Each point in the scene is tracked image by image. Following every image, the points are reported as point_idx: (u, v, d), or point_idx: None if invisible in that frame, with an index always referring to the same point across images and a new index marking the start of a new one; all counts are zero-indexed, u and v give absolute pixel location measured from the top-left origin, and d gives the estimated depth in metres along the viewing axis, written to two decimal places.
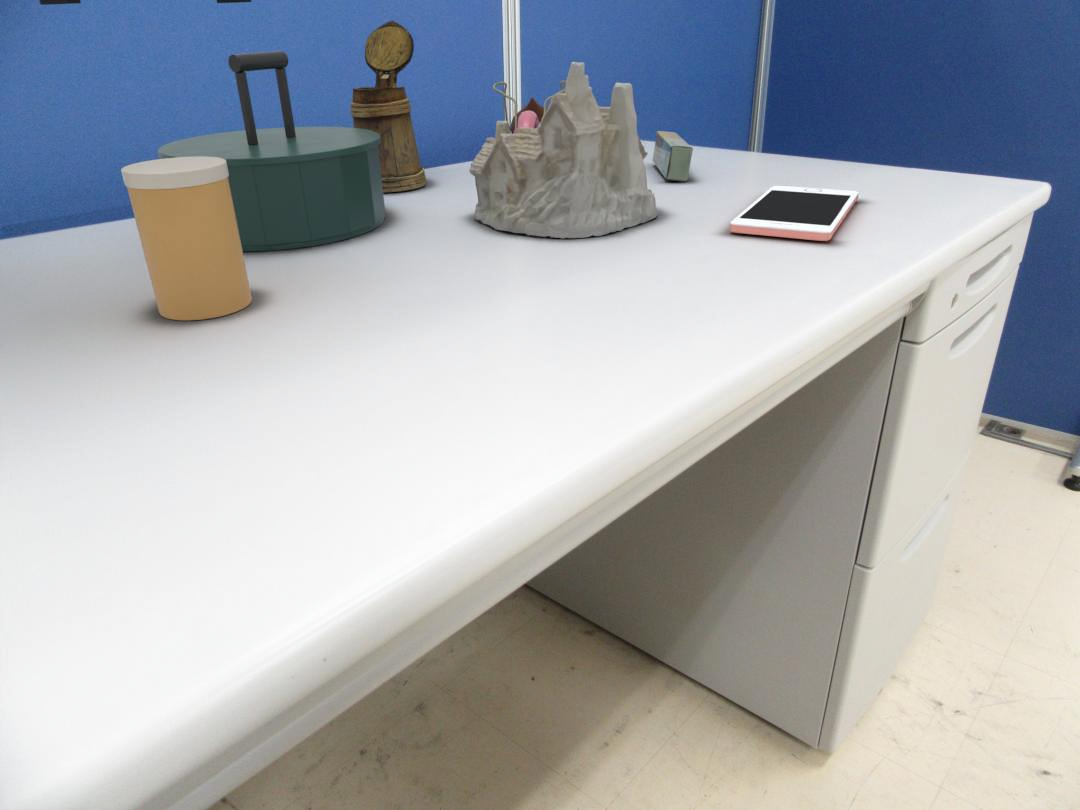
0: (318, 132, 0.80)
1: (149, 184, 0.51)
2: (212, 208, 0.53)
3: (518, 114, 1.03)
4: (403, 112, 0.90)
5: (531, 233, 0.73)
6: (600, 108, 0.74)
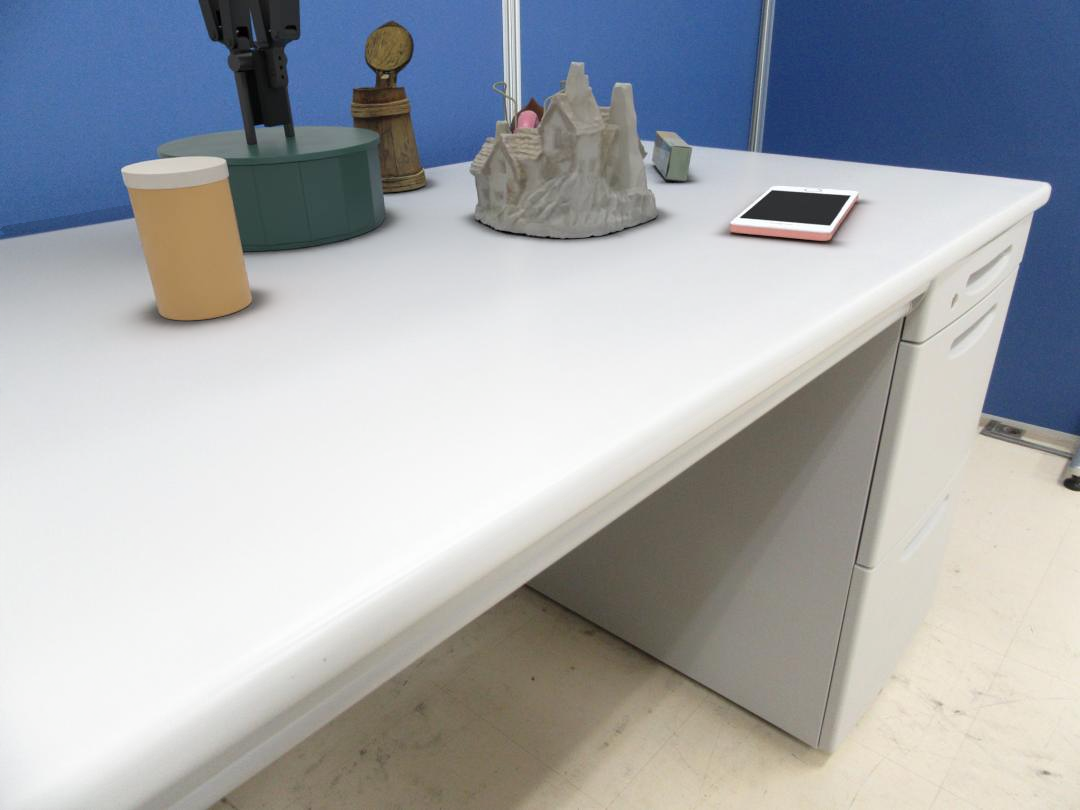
0: (317, 131, 0.80)
1: (149, 184, 0.51)
2: (212, 208, 0.53)
3: (518, 114, 1.03)
4: (403, 112, 0.90)
5: (531, 233, 0.73)
6: (600, 108, 0.74)
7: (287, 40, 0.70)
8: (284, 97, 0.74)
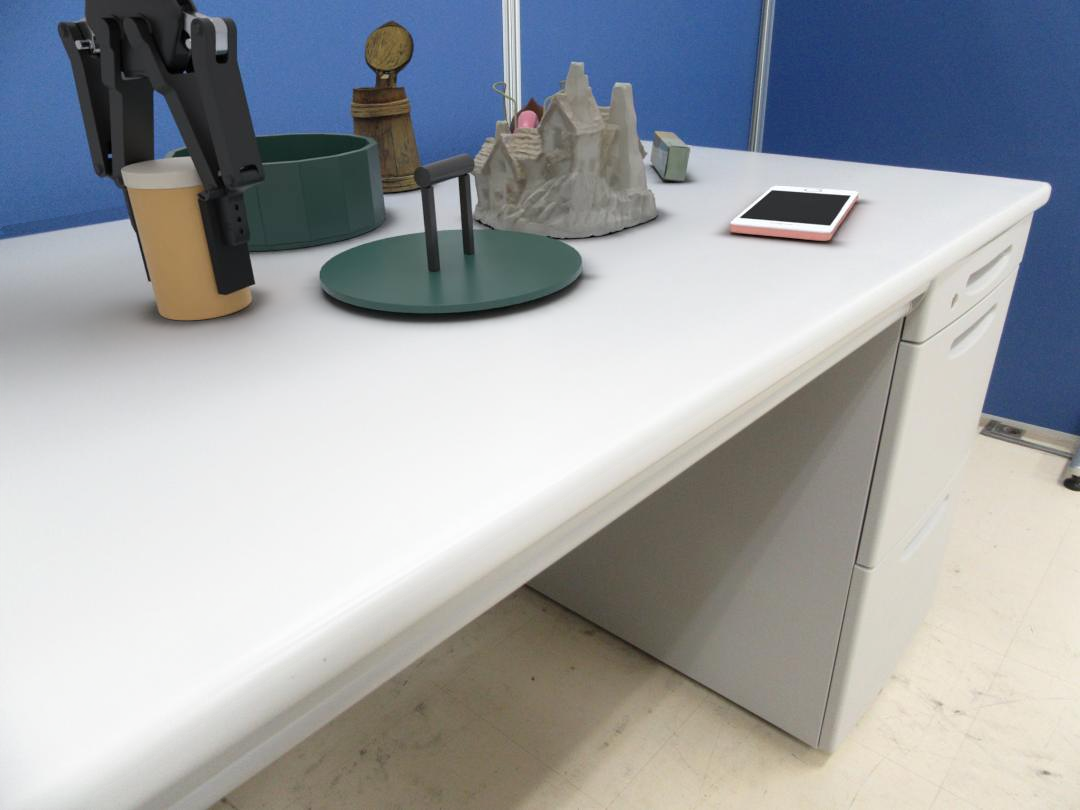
0: (495, 243, 0.66)
1: (149, 184, 0.51)
2: None
3: (518, 114, 1.03)
4: (403, 112, 0.90)
5: (531, 233, 0.73)
6: (600, 108, 0.74)
7: (246, 186, 0.51)
8: (246, 252, 0.55)
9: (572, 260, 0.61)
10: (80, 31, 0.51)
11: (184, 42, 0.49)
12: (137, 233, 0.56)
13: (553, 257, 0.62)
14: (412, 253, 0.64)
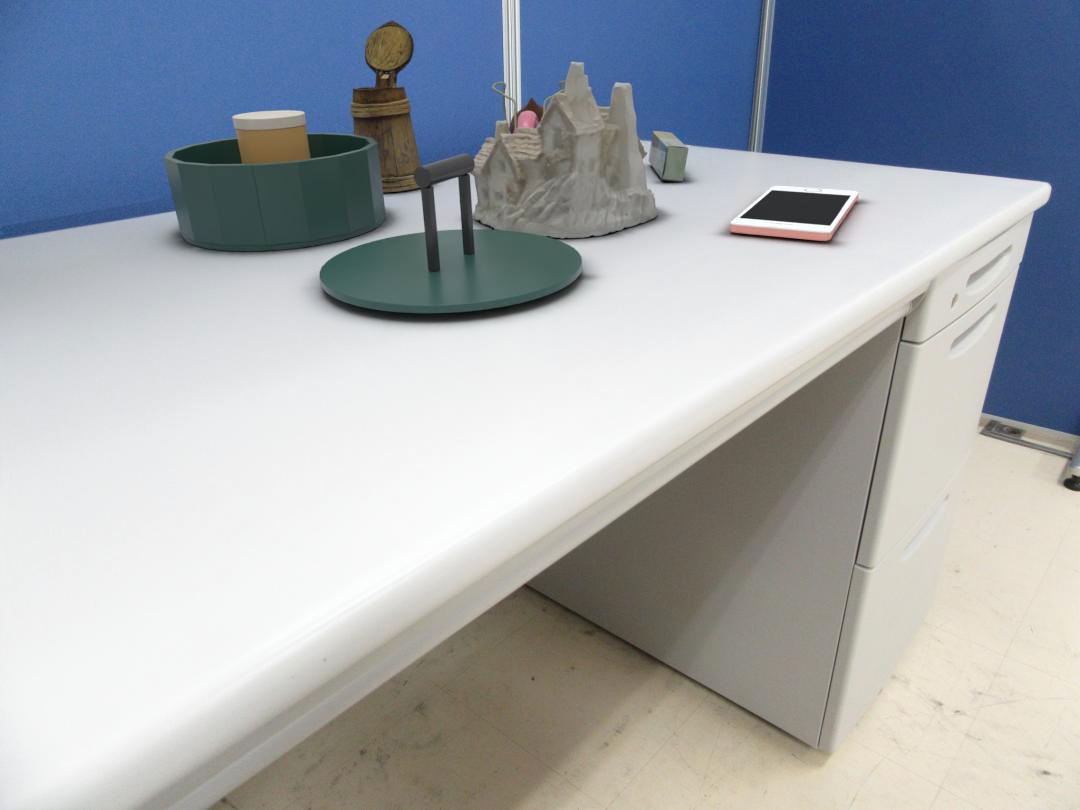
0: (495, 243, 0.66)
1: (254, 126, 0.72)
2: (296, 145, 0.74)
3: (517, 114, 1.02)
4: (403, 112, 0.90)
5: (531, 233, 0.73)
6: (600, 108, 0.74)
7: None
8: None
9: (572, 260, 0.61)
10: None
11: None
12: None
13: (553, 257, 0.62)
14: (412, 253, 0.64)
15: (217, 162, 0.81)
